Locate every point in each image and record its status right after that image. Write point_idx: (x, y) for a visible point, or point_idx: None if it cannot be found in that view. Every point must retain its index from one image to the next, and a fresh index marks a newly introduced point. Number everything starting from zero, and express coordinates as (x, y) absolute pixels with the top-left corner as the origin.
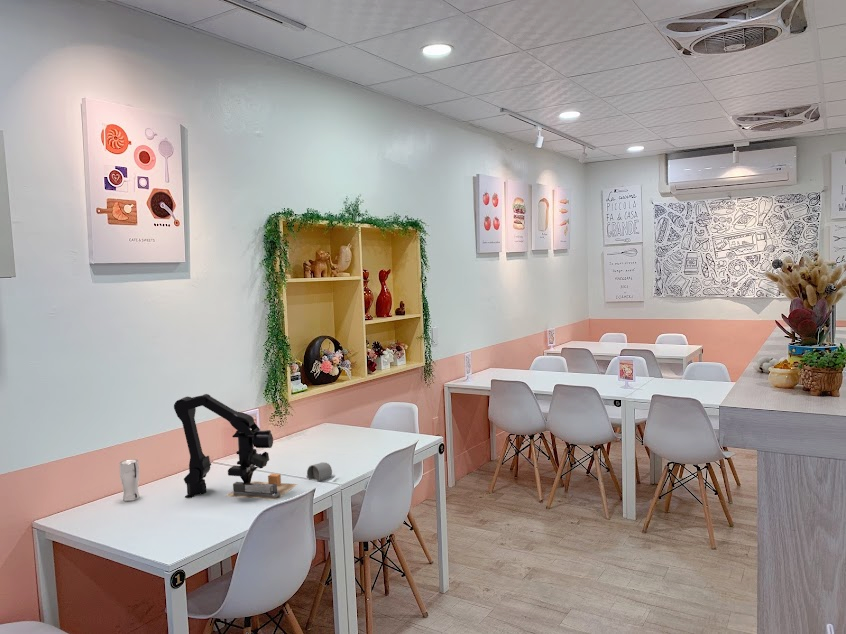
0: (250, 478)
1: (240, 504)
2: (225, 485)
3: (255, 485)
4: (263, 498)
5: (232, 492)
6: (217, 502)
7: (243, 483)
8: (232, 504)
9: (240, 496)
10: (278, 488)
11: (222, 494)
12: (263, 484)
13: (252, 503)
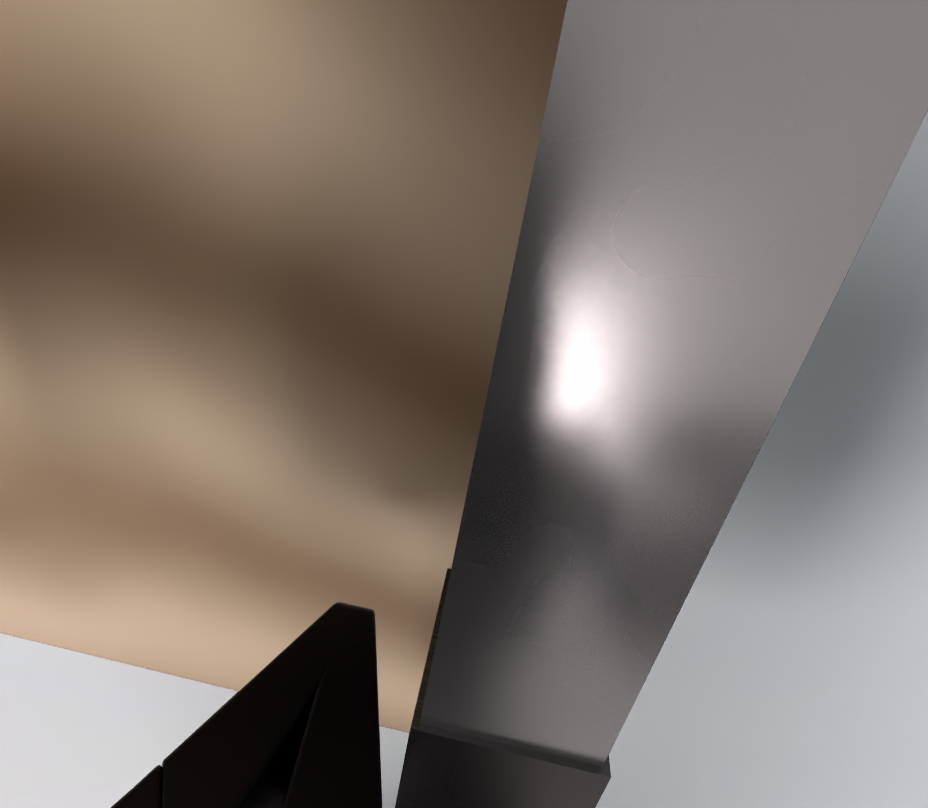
0: (245, 777)
1: (849, 515)
2: (115, 776)
3: (746, 471)
4: None
5: (404, 720)
6: (669, 778)
7: (499, 803)
8: (808, 622)
9: None
10: None
11: (383, 768)
12: (661, 115)
13: (860, 314)
